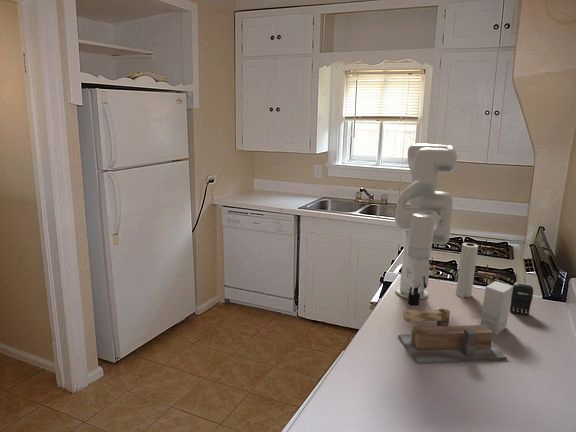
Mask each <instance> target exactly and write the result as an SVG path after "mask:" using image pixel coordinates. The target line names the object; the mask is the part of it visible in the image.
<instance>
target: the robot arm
mask: <svg viewBox="0 0 576 432" xmlns="http://www.w3.org/2000/svg"><path fill="white" fill-rule="evenodd" d="M407 163H408V167H409V170H410V174H411V184H409V185H408V186H406V187H405V188H404V189H403V191H402V192H401V193H400V194H399V196H398V199H397V200H396V201H397V202H396V208H395V217H394V223H395V226H396V227H397V229H399V230H403V252H402V253H403V254H402V262H401V265H402V266H401V274H400V279H399V281H400V284H399V286H397V287H396V288H395V293H396V295H398V296H399V297H402V298H405V299H407V304H408V305H409V307H418V306H420V300H424V299H426V298H428V296H429V293H428V291H427V290H426V288H428V284H429V275H430V259H431V257H432V256H431V255H432V247H433V244H435V245H436V244H437V245H445V244H447V243H448V242H449V240H450V237H451V229H452V217H453V215H452V214H453V204H454V203H453V197H452V195H451V194H450V192H448V191H447V192H446V191H439V190H436V189H437V187H438V179H439V177H438V174H439V173H449V174H450V173H454V171H455V169H456V168H457V164H458V155H457V151H456V148H455V147H454V146H453V145H448V144H437V143H436V144H434V143H415V144H411V145H410V146H409V147H408V149H407ZM408 202H409V207H405V205H407V203H408Z"/></svg>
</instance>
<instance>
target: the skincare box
mask: <svg viewBox="0 0 576 432" xmlns="http://www.w3.org/2000/svg"><path fill="white" fill-rule="evenodd" d="M512 289H513V285H511V284H507V283H504V282H500V281H497V280H495V281H493V282H492V283H490V284H488V285H486V286H485V291H484V297H483V305H482V309H481V311H482V312H481V317H480V322H479V325H485V326H486V327H487V328H489V329H490V330H491V331H492V332H493V334H495V335H498V334H500V333H501V332H502V331H503V330H504V329H506V328H507V324H508V323H507V322H508V317H509V312H510V310H509V309H510V303H511V295H512Z"/></svg>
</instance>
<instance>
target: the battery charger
mask: <svg viewBox="0 0 576 432" xmlns="http://www.w3.org/2000/svg"><path fill="white" fill-rule="evenodd" d="M512 286H513V289H512V295H511V301H510V307H509V312H510V313H512V314H516V315H522V316H529V315H530V310H531V305H532V302H533V297H534V296H533V295H534V287H533V285H532V284H528V283H523V282H515V283H514V284H513V285H512Z"/></svg>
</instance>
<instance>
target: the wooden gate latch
mask: <svg viewBox="0 0 576 432" xmlns="http://www.w3.org/2000/svg"><path fill="white" fill-rule="evenodd" d="M449 324H450V320H449V321H447V322H444V321H436V325H434V326H433V325H432V326H429V325H428V326H412V328H411V333H407V334H405V333H402V334H398V336H397V338H398V339H399V340H400V341H401V343H402V345H403V346H404V347H405V348H406V350H407V351H408V353H409V354H410V355H411V357H412V358H413V359H414V361H415V362H416V363H417V364H437V363H438V364H439V363H440V364H442V363H464V362H466V363H467V362H469V363H470V362H471V363H472V362H495V361H507V359H508V356H506V355H505V354H504V353H503V352H502V351H501V350H499V349H498V347H496V346H495V345H494V344H493V343H492V341H493V336H494V333H493V332H492V331H491V330H490V329H489V328H487V327H486V326H485V325H480V324H472V325H471V324H469V325H467V324H466V325H449Z"/></svg>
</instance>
